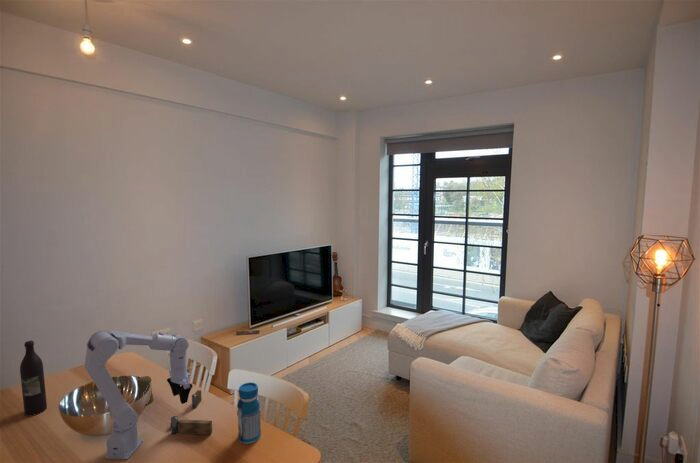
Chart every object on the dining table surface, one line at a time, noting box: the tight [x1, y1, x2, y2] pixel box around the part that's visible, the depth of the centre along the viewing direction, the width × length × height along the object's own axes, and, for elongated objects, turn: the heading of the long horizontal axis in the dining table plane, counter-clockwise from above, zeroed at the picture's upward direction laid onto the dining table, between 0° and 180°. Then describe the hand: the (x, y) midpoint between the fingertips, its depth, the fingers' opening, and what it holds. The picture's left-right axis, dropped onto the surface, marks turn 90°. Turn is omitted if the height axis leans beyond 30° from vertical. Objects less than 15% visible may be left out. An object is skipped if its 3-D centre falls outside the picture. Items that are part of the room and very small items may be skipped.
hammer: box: [169, 389, 202, 436], centre depth 148 cm, size 22×4×6 cm, turn 178°
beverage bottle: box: [236, 382, 262, 445], centre depth 135 cm, size 8×8×20 cm
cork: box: [137, 375, 154, 405], centre depth 158 cm, size 6×6×11 cm
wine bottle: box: [19, 340, 48, 416], centre depth 149 cm, size 7×7×30 cm
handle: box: [177, 419, 213, 435], centre depth 138 cm, size 13×2×5 cm, turn 88°
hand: (180, 398), depth 144 cm, fingers open, 7 cm apart
